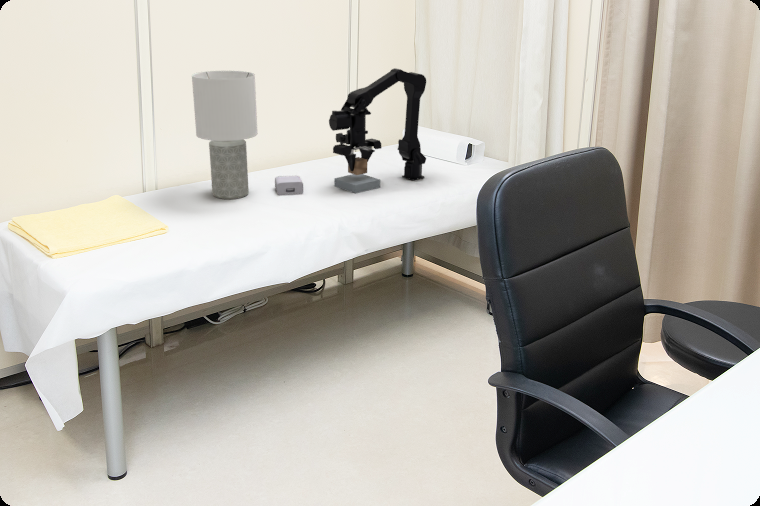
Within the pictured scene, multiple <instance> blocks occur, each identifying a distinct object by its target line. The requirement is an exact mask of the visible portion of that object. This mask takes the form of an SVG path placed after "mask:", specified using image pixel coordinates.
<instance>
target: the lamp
mask: <svg viewBox="0 0 760 506" xmlns="http://www.w3.org/2000/svg"><path fill="white" fill-rule="evenodd" d="M255 75H256V74H255V73H252V72H251V71H250V72H249V71H241V70H210V71H208V70H207V71H201V72H196V73H193V74H191V82H192V95H193V111H194V120H195V123H194V124H195V136H196V137H197V138H199V139H202V140H206V141H209V142H208V148H209V151H208V152H209V165H210V176H211V189H212V190H211V193H212V195H213V197H215V198H217V199H220V198H222V200H223V199H224V200H236V199H235V198H237V199H242V198H244V196H245V197H247V195H248V194H249V190H250V189H249V173H248V151H247V141H246V140H248V139H251V138H252V139H253V138H254V137H256V136H257V135H258V116H257V113H258V112H257V100H256V99H257V96H256V95H257V92H256V76H255ZM241 197H242V198H241Z"/></svg>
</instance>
